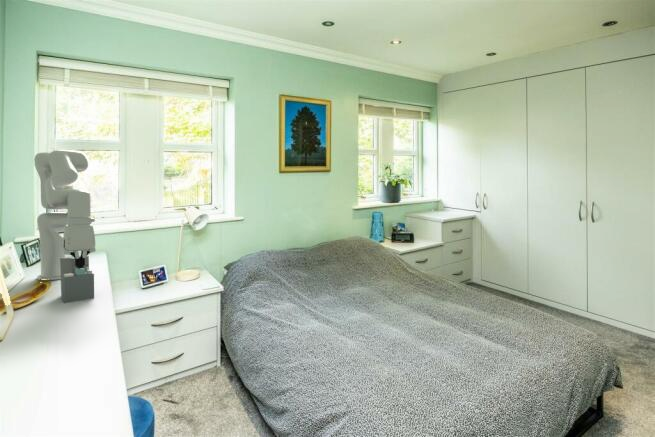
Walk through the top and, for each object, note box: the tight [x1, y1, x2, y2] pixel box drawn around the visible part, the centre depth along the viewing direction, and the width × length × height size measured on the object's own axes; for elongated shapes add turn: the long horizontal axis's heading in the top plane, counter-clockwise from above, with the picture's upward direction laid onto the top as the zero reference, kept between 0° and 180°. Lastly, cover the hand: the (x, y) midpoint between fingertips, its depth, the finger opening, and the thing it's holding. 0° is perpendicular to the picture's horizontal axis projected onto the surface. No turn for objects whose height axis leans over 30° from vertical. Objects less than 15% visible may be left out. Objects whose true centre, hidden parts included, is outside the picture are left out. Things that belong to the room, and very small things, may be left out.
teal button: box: [75, 268, 85, 276], centre depth 147 cm, size 3×3×3 cm
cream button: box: [64, 273, 74, 277], centre depth 144 cm, size 3×3×3 cm
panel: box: [60, 272, 95, 304], centre depth 147 cm, size 4×10×10 cm, turn 139°
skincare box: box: [60, 255, 90, 275], centre depth 153 cm, size 8×7×16 cm
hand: (80, 267), depth 146 cm, fingers closed
